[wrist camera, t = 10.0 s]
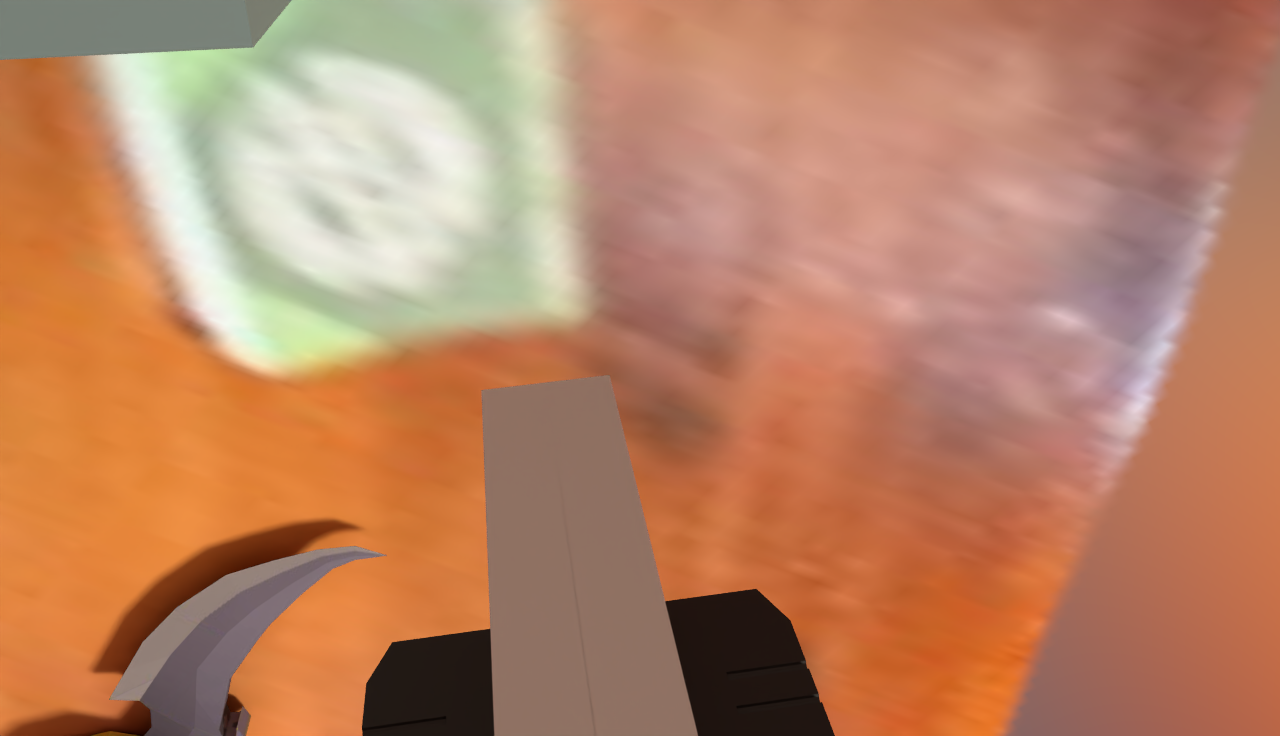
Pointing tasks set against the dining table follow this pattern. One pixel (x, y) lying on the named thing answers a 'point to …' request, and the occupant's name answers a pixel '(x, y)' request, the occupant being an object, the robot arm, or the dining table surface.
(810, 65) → the dining table surface
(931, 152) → the dining table surface
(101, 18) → the bridge
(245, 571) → the knife
